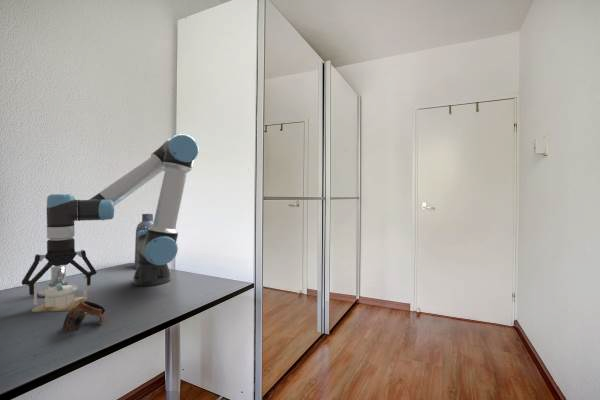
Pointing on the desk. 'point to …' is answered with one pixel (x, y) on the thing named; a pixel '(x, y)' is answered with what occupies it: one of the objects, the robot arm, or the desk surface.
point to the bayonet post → (57, 279)
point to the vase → (144, 225)
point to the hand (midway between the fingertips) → (61, 299)
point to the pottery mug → (82, 315)
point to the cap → (59, 295)
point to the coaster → (60, 308)
